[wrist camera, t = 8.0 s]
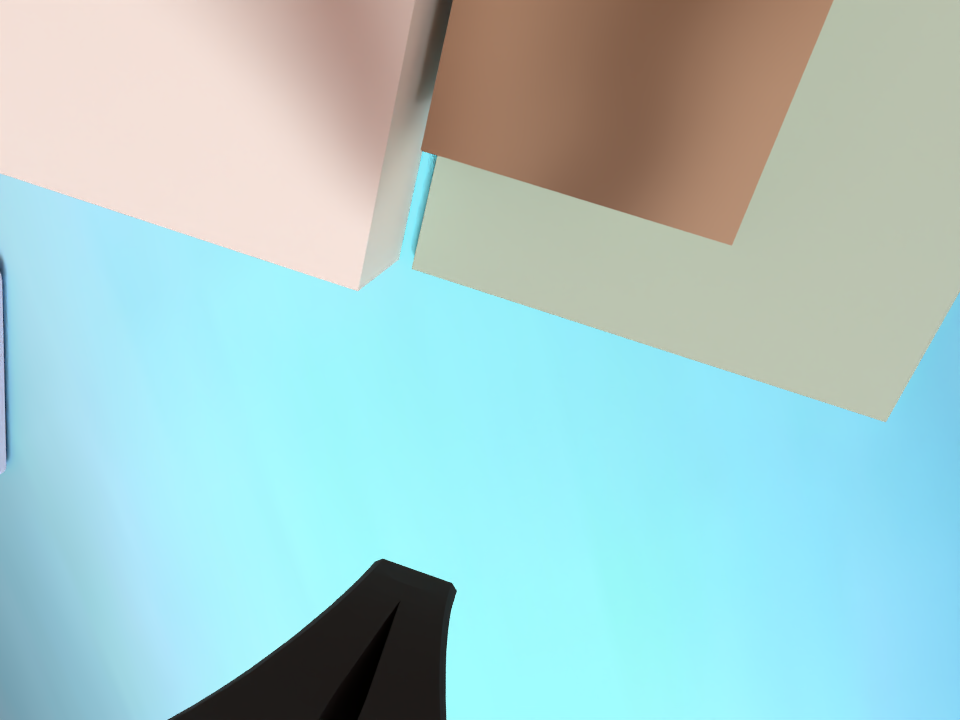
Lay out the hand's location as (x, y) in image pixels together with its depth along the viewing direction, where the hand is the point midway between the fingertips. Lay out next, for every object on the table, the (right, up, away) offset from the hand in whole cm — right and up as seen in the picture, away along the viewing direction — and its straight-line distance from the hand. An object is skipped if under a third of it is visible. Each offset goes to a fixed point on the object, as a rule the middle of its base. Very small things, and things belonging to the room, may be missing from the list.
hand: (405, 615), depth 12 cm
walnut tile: (+5, +12, +4) cm, 13 cm away
